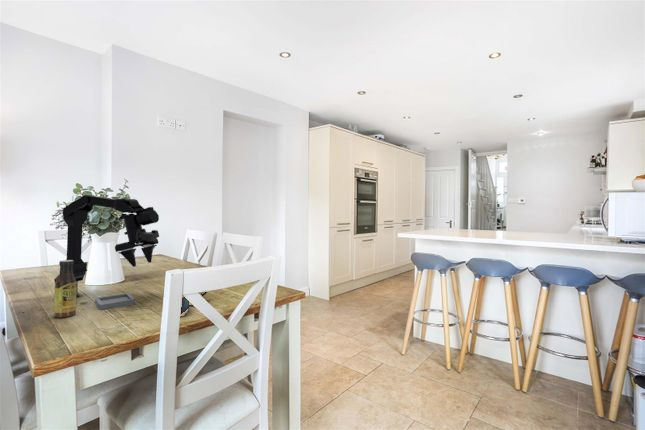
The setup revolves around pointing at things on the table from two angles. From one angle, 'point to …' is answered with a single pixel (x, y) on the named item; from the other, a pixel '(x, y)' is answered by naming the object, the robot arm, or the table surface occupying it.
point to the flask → (184, 305)
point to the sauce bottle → (65, 290)
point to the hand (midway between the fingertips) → (142, 264)
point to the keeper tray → (114, 301)
